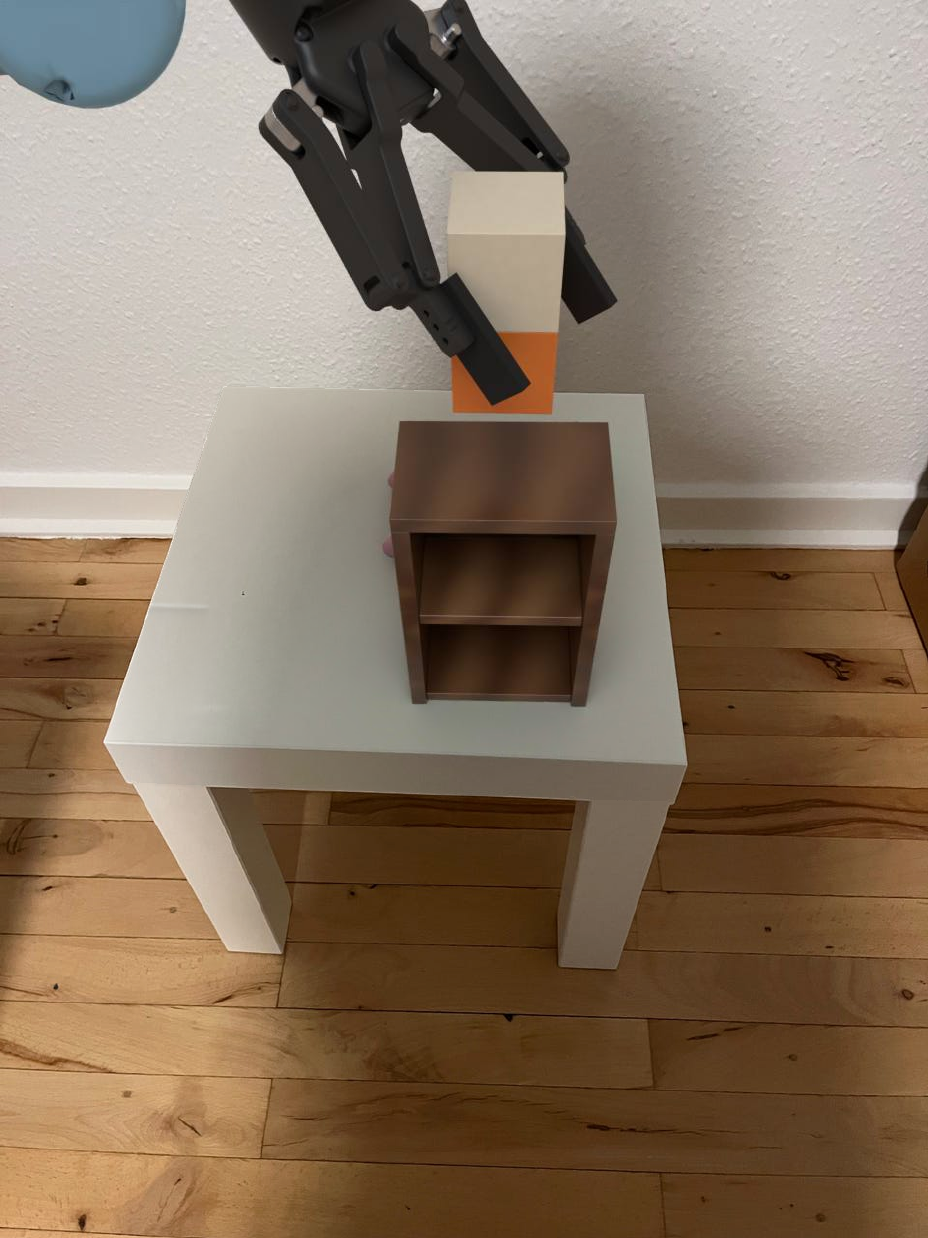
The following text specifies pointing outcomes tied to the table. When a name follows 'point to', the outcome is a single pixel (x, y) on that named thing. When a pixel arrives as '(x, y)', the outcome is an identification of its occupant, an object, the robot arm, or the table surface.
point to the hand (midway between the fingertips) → (555, 351)
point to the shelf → (502, 556)
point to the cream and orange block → (510, 275)
